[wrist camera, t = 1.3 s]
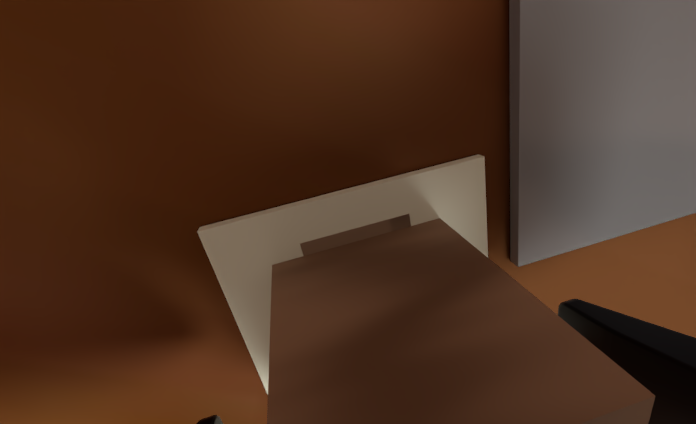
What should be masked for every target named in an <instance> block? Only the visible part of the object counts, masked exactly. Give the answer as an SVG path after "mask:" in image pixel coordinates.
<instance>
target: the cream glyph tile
mask: <svg viewBox="0 0 696 424" xmlns="http://www.w3.org/2000/svg"><path fill="white" fill-rule="evenodd" d="M438 218H440V219H442V220H443V221H444V222H445V223H446V224H448V225H449V226H450V227H451V228H452V229H454V230H455V231H456V232H457V233H459V234H460V235H461V236H462V237H463V238H465V239H466V240H467V241H468V242H469V243H471V244H472V245H473V246H474V247H476V248H477V249H478V250H479V251H480V252H482V253H483V254H484V255H485V256H486V257H488V241H487V213H486V184H485V156H482V155H479V154H478V155H474V156H470V157H466V158H462V159H458V160H455V161H451V162H447V163H443V164H439V165H435V166H432V167H428V168H424V169H420V170H416V171H412V172H409V173H405V174H401V175H397V176H393V177H389V178H386V179H382V180H378V181H374V182H370V183H366V184H363V185H359V186H355V187H351V188H347V189H343V190H340V191H336V192H332V193H328V194H324V195H320V196H317V197H313V198H309V199H305V200H301V201H297V202H294V203H290V204H286V205H282V206H278V207H274V208H271V209H267V210H263V211H259V212H255V213H251V214H248V215H244V216H240V217H236V218H232V219H228V220H225V221H221V222H217V223H213V224H209V225H205V226H202V227H199V229H198V231H197V233H198V235H199V237H200V240H201V242H202V244H203V247H204V249H205V251H206V254H207V256H208V258H209V260H210V263H211V265H212V267H213V270H214V272H215V274H216V277H217V279H218V281H219V284H220V286H221V288H222V290H223V293H224V295H225V297H226V300H227V302H228V304H229V307H230V309H231V311H232V313H233V316H234V318H235V320H236V323H237V325H238V327H239V330H240V332H241V334H242V337H243V339H244V341H245V343H246V346H247V348H248V350H249V353H250V355H251V357H252V360H253V362H254V364H255V367H256V369H257V371H258V373H259V376H260V378H261V380H262V383H263V385H264V387H265V390H266V392H267V394H268V380H269V347H270V314H271V281H272V265H274V264H277V263H281V262H285V261H288V260H292V259H295V258H299V257H302V256H306V255H310V254H313V253H317V252H320V251H324V250H327V249H331V248H335V247H338V246H342V245H345V244H349V243H353V242H356V241H360V240H363V239H367V238H370V237H374V236H378V235H381V234H385V233H388V232H392V231H395V230H399V229H403V228H406V227H410V226H413V225H417V224H420V223H424V222H428V221H431V220H435V219H438Z"/></svg>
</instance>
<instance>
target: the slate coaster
mask: <svg viewBox="0 0 696 424" xmlns="http://www.w3.org/2000/svg"><path fill="white" fill-rule="evenodd" d="M509 40H510V261H511V262H512V263H514V264H515V265H516V266H518V267H519V266H523V265H526V264H529V263H533V262H536V261H539V260H542V259H546V258H549V257H552V256H556V255H559V254H562V253H565V252H569V251H572V250H575V249H578V248H582V247H585V246H588V245H592V244H595V243H598V242H601V241H605V240H608V239H611V238H615V237H618V236H621V235H624V234H628V233H631V232H634V231H637V230H641V229H644V228H647V227H651V226H654V225H657V224H660V223H664V222H667V221H670V220H674V219H677V218H680V217H683V216H687V215H690V214H693V213H696V0H509Z"/></svg>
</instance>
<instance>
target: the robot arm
mask: <svg viewBox="0 0 696 424" xmlns="http://www.w3.org/2000/svg"><path fill="white" fill-rule="evenodd" d="M558 316H559V317H560V318H562V319H563V320H564V321H565V322H567V323H568V324H569V325H570V326H571V327H573V328H574V329H575V330H576V331H577V332H579V333H580V334H581V335H582V336H583V337H585V338H586V339H587V340H588V341H590V342H591V343H592V344H593V345H594V346H596V347H597V348H598V349H599V350H600V351H602V352H603V353H604V354H605V355H607V356H608V357H609V358H610V359H611V360H613V361H614V362H615V363H616V364H617V365H619V366H620V367H621V368H622V369H624V370H625V371H626V372H627V373H628V374H630V375H631V376H632V377H633V378H634V379H636V380H637V381H638V382H639V383H641V384H642V385H643V386H644V387H645V388H647V389H648V390H649V391H650V392H651V393H653V394H654V395H655V400H654V404H653V408H652V412H651V416H650V420H649V423H648V424H696V338H694V337H691V336H688V335H685V334H682V333H679V332H676V331H673V330H670V329H667V328H664V327H661V326H657V325H654V324H651V323H648V322H645V321H642V320H639V319H636V318H633V317H630V316H627V315H624V314H621V313H618V312H615V311H612V310H609V309H606V308H603V307H600V306H597V305H594V304H591V303H588V302H585V301H582V300H578V299H571V300H568V301H565V302H562V303H560V305H559V308H558ZM197 424H223V423H222V421H221V419H220V417H219V416H217V415H213V416H210V417H207V418H204V419H201V420H200V421H199V422H198V423H197Z"/></svg>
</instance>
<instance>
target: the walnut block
mask: <svg viewBox="0 0 696 424" xmlns="http://www.w3.org/2000/svg"><path fill="white" fill-rule="evenodd" d="M654 400H655V395H654V394H653V393H651V392H650V391H649V390H648V389H647V388H645V387H644V386H643V385H642V384H641V383H639V382H638V381H637V380H636V379H634V378H633V377H632V376H631V375H630V374H628V373H627V372H626V371H625V370H624V369H622V368H621V367H620V366H619V365H617V364H616V363H615V362H614V361H613V360H611V359H610V358H609V357H608V356H607V355H605V354H604V353H603V352H602V351H600V350H599V349H598V348H597V347H596V346H594V345H593V344H592V343H591V342H590V341H588V340H587V339H586V338H585V337H583V336H582V335H581V334H580V333H579V332H577V331H576V330H575V329H574V328H573V327H571V326H570V325H569V324H568V323H567V322H565V321H564V320H563V319H562V318H560V317H559V316H558V315H557V314H556V313H554V312H553V311H552V310H551V309H550V308H548V307H547V306H546V305H545V304H543V303H542V302H541V301H540V300H539V299H537V298H536V297H535V296H534V295H533V294H531V293H530V292H529V291H528V290H526V289H525V288H524V287H523V286H522V285H520V284H519V283H518V282H517V281H516V280H514V279H513V278H512V277H511V276H509V275H508V274H507V273H506V272H505V271H503V270H502V269H501V268H500V267H499V266H497V265H496V264H495V263H494V262H492V261H491V260H490V259H489V258H488V257H486V256H485V255H484V254H483V253H482V252H480V251H479V250H478V249H477V248H476V247H474V246H473V245H472V244H471V243H469V242H468V241H467V240H466V239H465V238H463V237H462V236H461V235H460V234H459V233H457V232H456V231H455V230H454V229H452V228H451V227H450V226H449V225H448V224H446V223H445V222H444V221H443V220H442V219H440V218H438V219H435V220H431V221H428V222H424V223H420V224H417V225H413V226H410V227H406V228H403V229H399V230H395V231H392V232H388V233H385V234H381V235H378V236H374V237H370V238H367V239H363V240H360V241H356V242H353V243H349V244H345V245H342V246H338V247H335V248H331V249H327V250H324V251H320V252H317V253H313V254H310V255H306V256H302V257H299V258H295V259H292V260H288V261H285V262H281V263H277V264H274V265H272V281H271V314H270V347H269V380H268V413H267V424H648V423H649V420H650V416H651V412H652V408H653V404H654Z"/></svg>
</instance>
